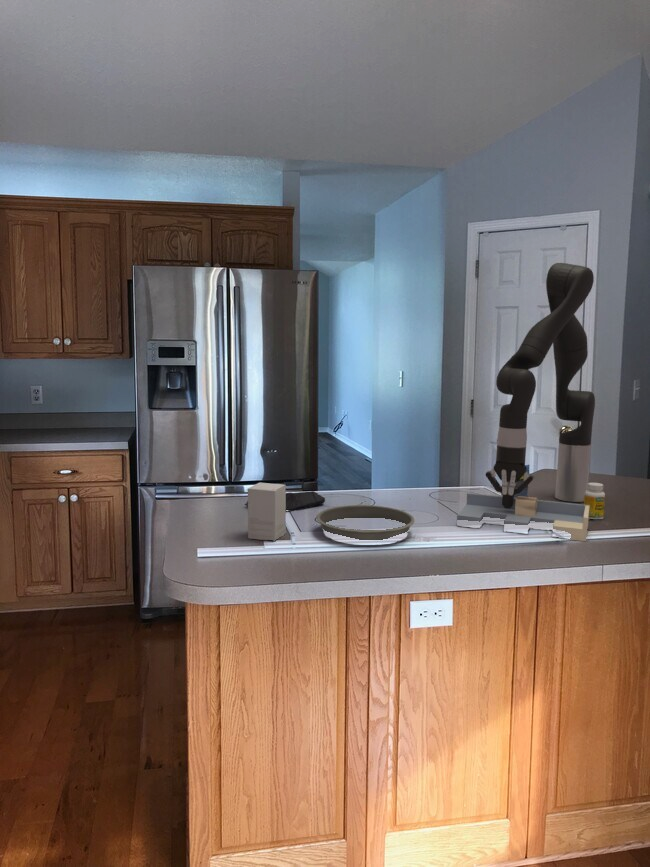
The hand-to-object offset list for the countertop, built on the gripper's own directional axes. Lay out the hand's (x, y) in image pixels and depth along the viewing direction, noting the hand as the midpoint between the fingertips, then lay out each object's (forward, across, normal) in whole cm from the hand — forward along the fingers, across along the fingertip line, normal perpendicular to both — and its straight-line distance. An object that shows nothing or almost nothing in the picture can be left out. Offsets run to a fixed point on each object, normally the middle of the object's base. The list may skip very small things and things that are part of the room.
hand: (507, 507), depth 198 cm
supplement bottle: (+4, -22, -15) cm, 27 cm away
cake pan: (+5, +31, +26) cm, 41 cm away
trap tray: (+4, -5, +3) cm, 7 cm away
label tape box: (+4, 0, -19) cm, 20 cm away
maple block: (+1, -5, 0) cm, 5 cm away
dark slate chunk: (+5, +61, +9) cm, 62 cm away
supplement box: (+5, +52, +39) cm, 65 cm away
